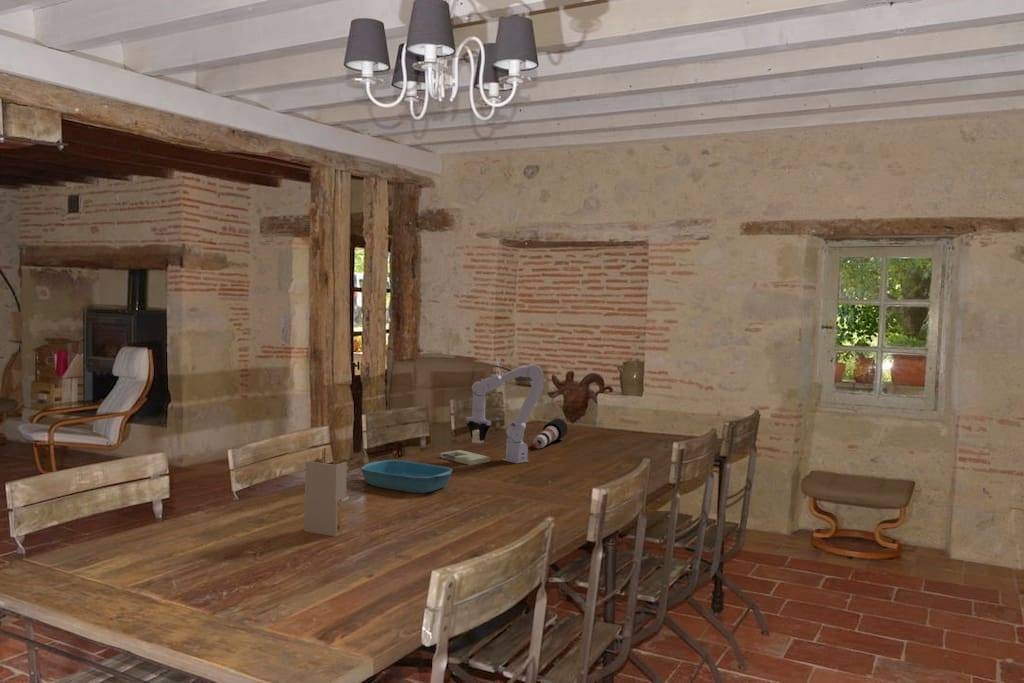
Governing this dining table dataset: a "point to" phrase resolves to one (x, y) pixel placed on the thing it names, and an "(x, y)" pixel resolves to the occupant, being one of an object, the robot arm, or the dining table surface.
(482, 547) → the dining table surface
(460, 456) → the pale green panel
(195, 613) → the dining table surface
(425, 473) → the casserole dish
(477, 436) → the white round knob
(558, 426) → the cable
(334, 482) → the tall grey upright box
